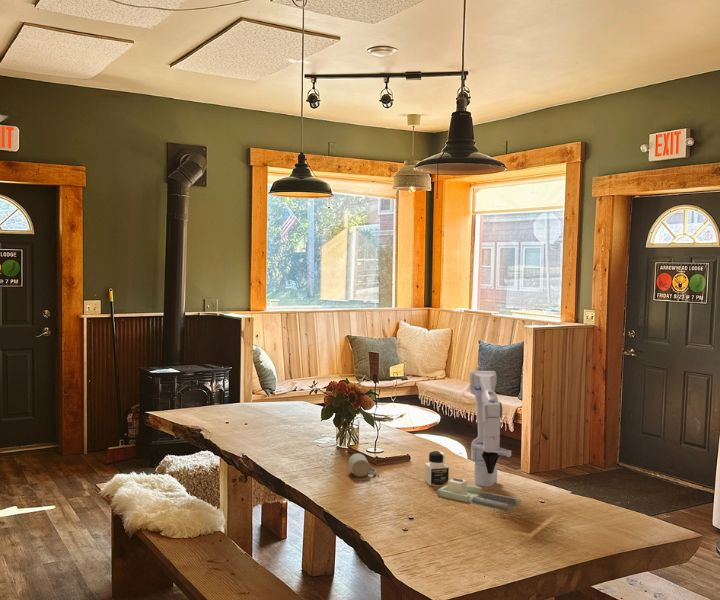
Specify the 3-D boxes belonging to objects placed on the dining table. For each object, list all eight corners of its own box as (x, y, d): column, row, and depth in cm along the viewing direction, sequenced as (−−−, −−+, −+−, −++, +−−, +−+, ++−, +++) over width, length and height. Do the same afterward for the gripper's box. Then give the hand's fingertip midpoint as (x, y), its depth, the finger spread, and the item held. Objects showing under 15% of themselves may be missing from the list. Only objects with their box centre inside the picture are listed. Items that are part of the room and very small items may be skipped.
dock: (482, 495, 273) (482, 489, 272) (521, 504, 264) (521, 497, 264) (467, 504, 263) (467, 498, 262) (507, 514, 254) (507, 506, 254)
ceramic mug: (352, 478, 290) (352, 459, 290) (347, 472, 298) (348, 453, 298) (378, 477, 293) (379, 458, 292) (373, 471, 301) (374, 452, 300)
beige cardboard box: (454, 491, 274) (454, 476, 274) (466, 493, 272) (467, 478, 271) (448, 494, 270) (448, 479, 270) (460, 497, 268) (461, 482, 267)
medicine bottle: (430, 486, 282) (431, 455, 281) (424, 480, 289) (425, 450, 288) (448, 485, 284) (449, 454, 283) (441, 479, 291) (442, 449, 290)
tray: (452, 489, 279) (452, 481, 279) (482, 495, 273) (482, 487, 272) (437, 498, 269) (437, 489, 269) (467, 504, 263) (467, 496, 262)
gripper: (468, 434, 269) (467, 471, 270) (506, 441, 261) (504, 479, 262) (476, 430, 275) (475, 467, 276) (514, 437, 267) (512, 474, 268)
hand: (490, 473), depth 269 cm, fingers closed
